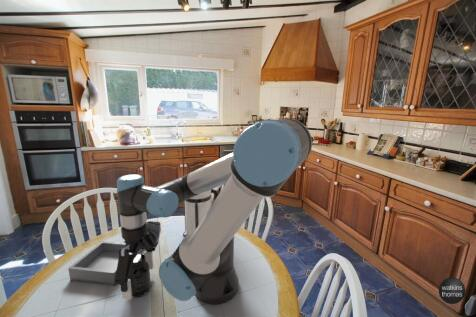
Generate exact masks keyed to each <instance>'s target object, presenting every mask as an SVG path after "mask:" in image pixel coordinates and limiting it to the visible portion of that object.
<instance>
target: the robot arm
mask: <svg viewBox="0 0 476 317" xmlns="http://www.w3.org/2000/svg"><path fill="white" fill-rule="evenodd" d="M312 146H313V138H312V135H311V132H310V130H309V129H308V127H307V126H306V125H305V124H303V122H301V121H299V120H297V119H294V118H290V117H289V118H288V117H287V118H285V117H283V118H279V119H278V118H277V119H271V118H270V119H264V120H260V121H258V122H255V123H254V124H252V125H249V126H248V127H247V128H245V129H244V130H243V131H242V132H240V134H239V136H237V139H236V141H235V142H234V146H233V151H232V152H231V153H228V154H226V155H225V156H222V157H220V158H218V159H216V160H214V161H212V162H210V163H207V164H206V165H204V166H202V167H200V168H197V169H194V171H191V172H189V173H186V174H184V175H183V176H180V177H179V178H175V179H174V180H171V181H168V182H165V183H163V184H160V185H157V186H152V185H147V184H145V179H144V177H143V176H142V175H141V174H137V173H136V174H135V173H134V174H132V173H131V174H126V175H122V176H119V178H117V180H116V195H117V204H118V210H119V220H120V226H121V227H120V231H121V238H122V240H124V242H125V241H126V245H125V248H123V249H122V248H120V249H119V259H118V265H117V270H116V276H115V281H114V284H115V286H116V285H117V286H119V287H120V292H121V298H122V299H124V300H132V299H133V296H132V291H131V281H130V279H129V276H130V272H131V268H132V265H133V261H134V258H135V257H136V256H137V252H138V251H139V250H140V249H141V248H143V249H144V250H143V251H144V252H143V255H144V256H145V260H146V262H147V263H148V264H149V269H150V270H153V269H154V259H153V258H154V256H153V252H155V251H156V247H155V245H156V246H157V244H155V242H154V240H153V237H152V235H151V233H150V228H147V222H148V219H147V218H148V217H147V214H150V216H151V215H152V216H153V217H159V218H163V219H164V218H170V217H171V216H173V215H174V213H175V212H176V211H177V208H178V207H179V206H178V205H180V203H184V201H185V200H187V199H189V198H191V197H194V196H196V195H199V194H201V193H203V192H206V191H208V190H211V189H216V188H219V187H221V186H223V187H222V188H221V190H220V191H219V193H218V196H217V198H216V199H215V198H214V201H213V202H212V205H211V207H210V209H209V210H208V212H207V213H206V215H205V216H204V218H203V219H202V221H201V222H200V224H199V225H198V227H197V229H196V230H195V232H194V233H193V234H191V235H187V236H185V237H184V238H183V239H182V240H181V241H180V243H179V244H178V246H177V248H176V249H175V250H174V251H173V253H172V254H171V255H170V256H169V257H167V258H165V259H164V260H163V262H161V263H160V265H159V268H158V276H159V279H160V281H161V283H162V286H163V287H164V289H165V291H167V293H168V294H170V295H171V296H172V298H174V299H176V300H178V301H181V302H188V301H189V300H190V299H192V297H195V296H196V298H197V299H198V300H199V301H200V302H203V303H205V304H209V305H220V304H224V303H227V302H229V301H230V300H232V299H233V298H234V297H235V296H236V295H237V293H238V291H239V284H240V283H239V278H238V275H237V274H238V273H237V271H236V268H235V265H234V258H235V257H234V255H235V254H234V253H235V252H234V248H235V246H234V245H235V241H234V240H235V235H236V234H237V233H238V232H239V230H240V229H241V228H242V226H243V224H245V222H246V221H247V219H248V218H249V217H250V216H251V215H252V213H253V212H254V211H255V209H256V208H257V207H258V206H259V205H260V203H261V201H262V200H263V199H264V198H272V197H274V196H275V195H277V193H278V191H280V189H281V188H282V187H283V186H284V185H285V183H286V182H287V180H288V179H289V178H290V177H291V175H292V174H293V173H294V172H295V171H296V170H297V169H298V168H299V167H300V165H302V164H303V163H304V162H305V161H306V160H307V159H308V157H309V156H310V154H311V152H312V148H313V147H312ZM153 246H154V248H153ZM130 253H134V254H133V255H131V254H130Z"/></svg>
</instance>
